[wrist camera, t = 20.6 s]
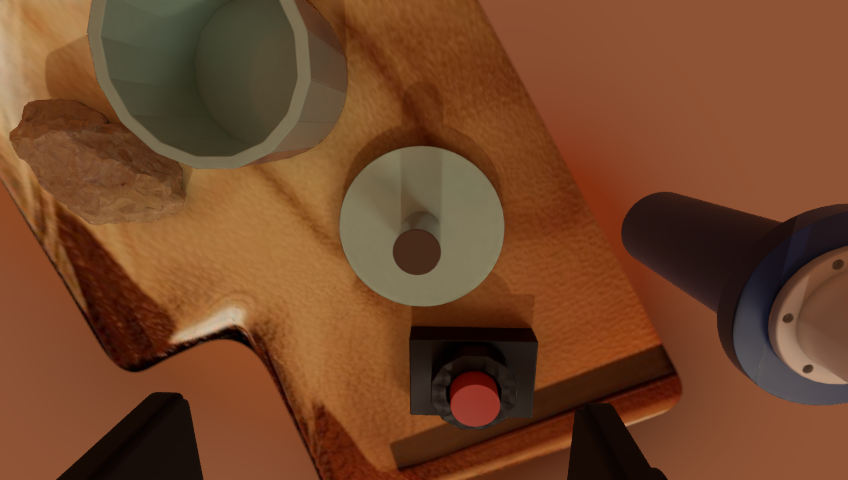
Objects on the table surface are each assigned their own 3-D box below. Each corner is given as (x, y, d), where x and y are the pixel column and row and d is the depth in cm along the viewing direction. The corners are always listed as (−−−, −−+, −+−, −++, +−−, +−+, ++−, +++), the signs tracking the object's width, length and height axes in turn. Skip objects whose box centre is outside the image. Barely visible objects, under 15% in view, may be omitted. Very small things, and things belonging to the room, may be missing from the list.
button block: (532, 328, 33) (544, 354, 29) (526, 400, 35) (537, 434, 31) (411, 326, 33) (407, 351, 30) (412, 397, 35) (408, 430, 31)
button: (498, 370, 30) (501, 385, 28) (496, 411, 31) (499, 427, 29) (450, 369, 30) (450, 384, 29) (449, 410, 31) (450, 426, 29)
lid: (506, 145, 29) (524, 149, 23) (498, 301, 32) (512, 344, 26) (338, 145, 30) (309, 149, 23) (347, 299, 33) (324, 340, 26)
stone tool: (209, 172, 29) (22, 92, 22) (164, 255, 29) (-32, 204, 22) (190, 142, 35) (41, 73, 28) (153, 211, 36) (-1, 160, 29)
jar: (342, -16, 27) (299, -79, 19) (351, 158, 30) (317, 169, 22) (177, -12, 27) (64, -72, 19) (202, 158, 30) (114, 168, 22)
